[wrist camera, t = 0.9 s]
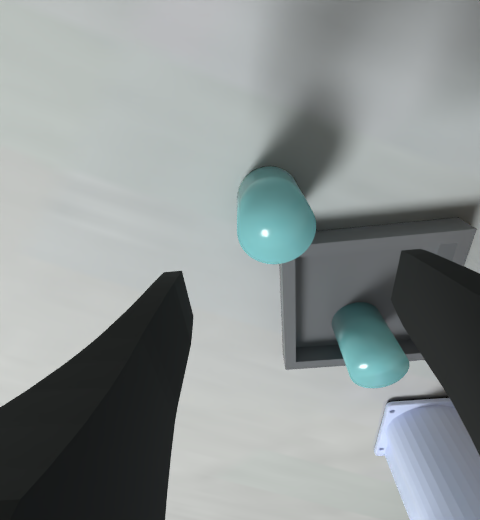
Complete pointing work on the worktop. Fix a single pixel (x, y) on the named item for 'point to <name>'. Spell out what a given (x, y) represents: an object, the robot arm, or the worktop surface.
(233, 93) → the worktop surface
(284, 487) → the worktop surface
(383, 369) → the teal rounded cylinder
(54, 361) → the worktop surface
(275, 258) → the teal rounded capsule
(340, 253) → the tray
